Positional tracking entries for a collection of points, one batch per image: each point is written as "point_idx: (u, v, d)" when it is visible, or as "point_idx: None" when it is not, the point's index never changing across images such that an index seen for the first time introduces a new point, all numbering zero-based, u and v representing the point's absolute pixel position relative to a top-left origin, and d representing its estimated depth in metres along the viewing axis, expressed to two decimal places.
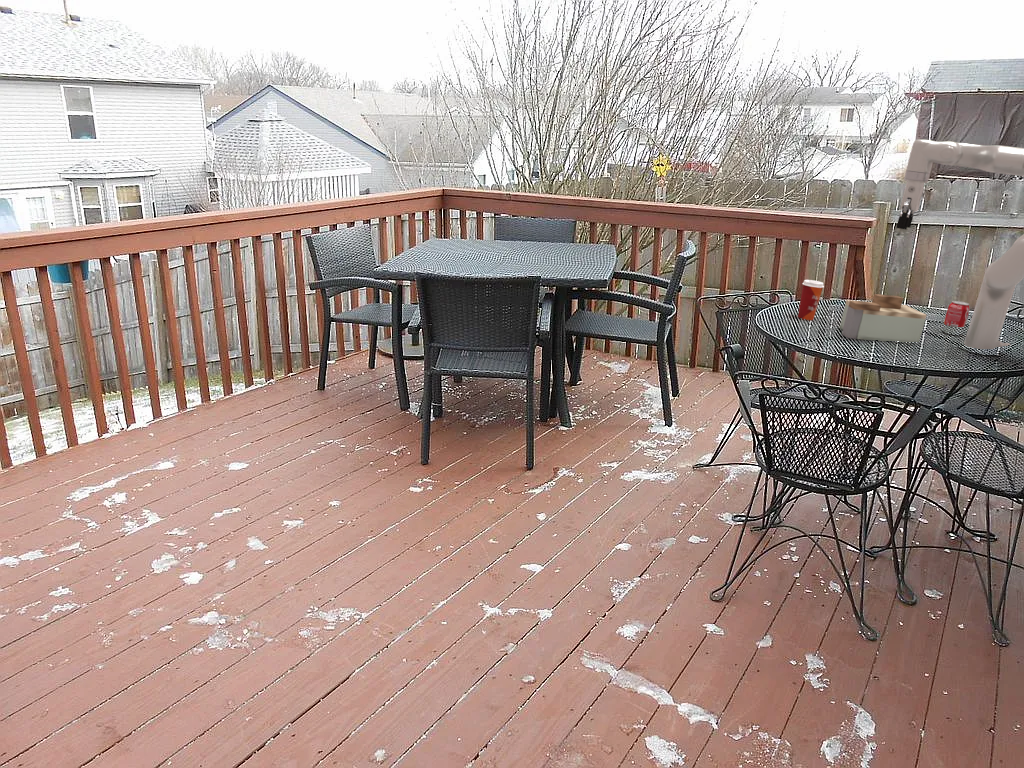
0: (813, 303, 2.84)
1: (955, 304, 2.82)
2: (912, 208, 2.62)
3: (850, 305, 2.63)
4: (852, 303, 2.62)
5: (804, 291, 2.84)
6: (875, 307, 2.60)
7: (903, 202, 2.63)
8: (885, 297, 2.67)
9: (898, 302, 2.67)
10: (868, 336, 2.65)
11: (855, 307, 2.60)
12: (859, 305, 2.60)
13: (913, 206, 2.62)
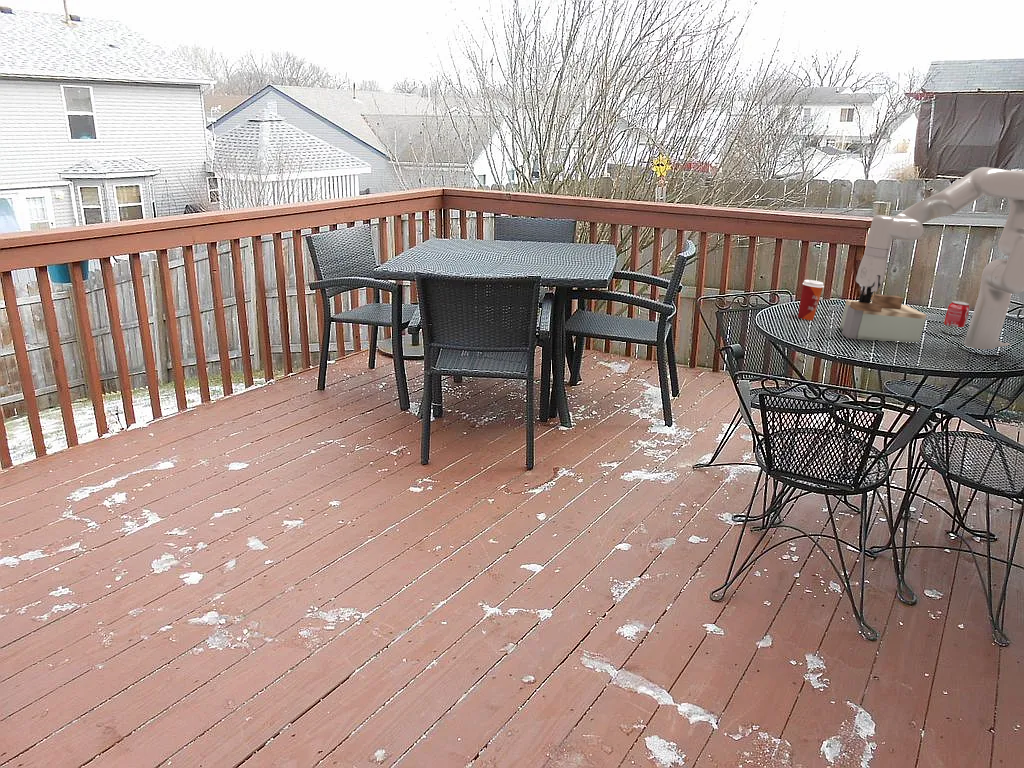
0: (813, 303, 2.84)
1: (955, 304, 2.82)
2: None
3: (851, 306, 2.62)
4: (853, 304, 2.61)
5: (804, 291, 2.84)
6: (876, 308, 2.59)
7: None
8: (885, 297, 2.67)
9: (898, 302, 2.67)
10: (868, 336, 2.65)
11: (856, 308, 2.59)
12: (860, 306, 2.59)
13: None
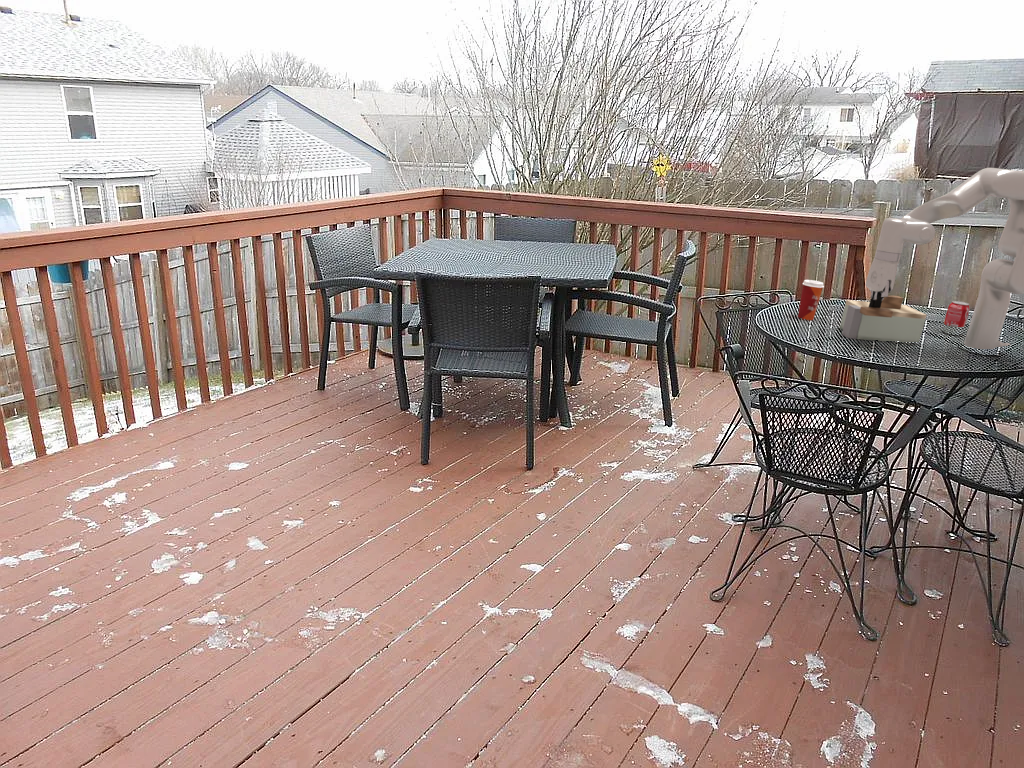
0: (813, 303, 2.84)
1: (955, 304, 2.82)
2: None
3: (861, 311, 2.55)
4: (863, 309, 2.54)
5: (804, 291, 2.84)
6: (887, 313, 2.53)
7: None
8: (885, 297, 2.67)
9: (898, 302, 2.67)
10: (868, 336, 2.65)
11: (866, 313, 2.52)
12: (870, 311, 2.52)
13: None
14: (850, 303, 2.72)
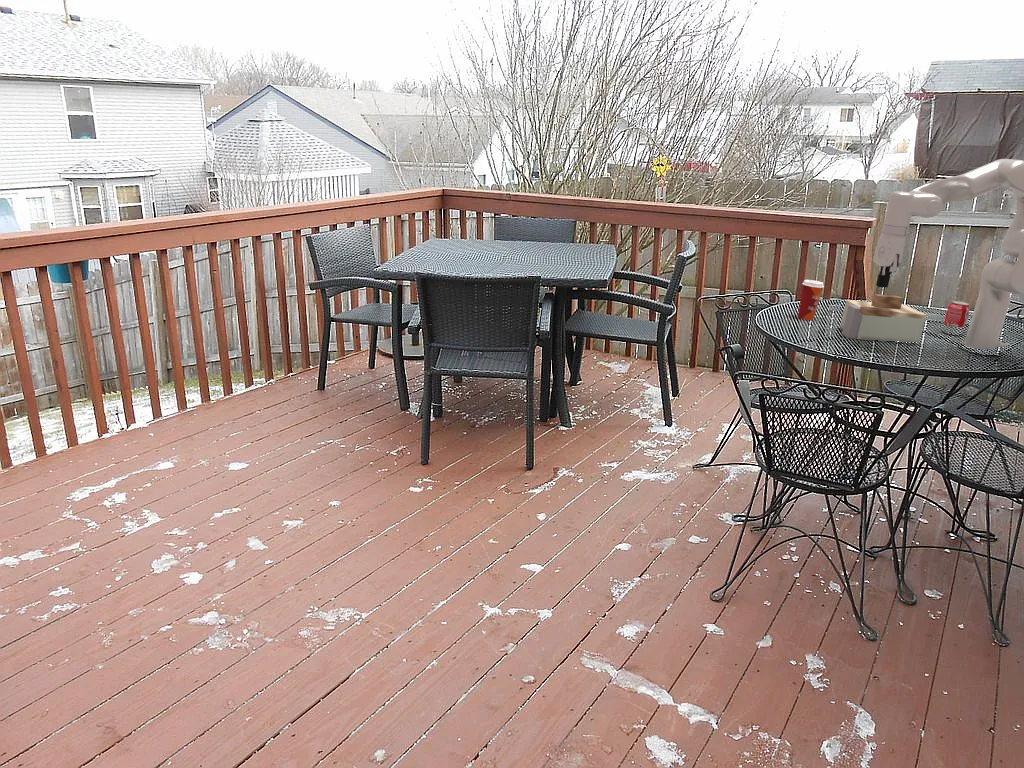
0: (813, 303, 2.84)
1: (955, 304, 2.82)
2: None
3: (861, 311, 2.55)
4: (863, 309, 2.54)
5: (804, 291, 2.84)
6: (886, 313, 2.53)
7: None
8: (885, 297, 2.67)
9: (898, 302, 2.67)
10: (868, 336, 2.65)
11: (866, 313, 2.53)
12: (870, 311, 2.52)
13: None
14: (850, 303, 2.72)
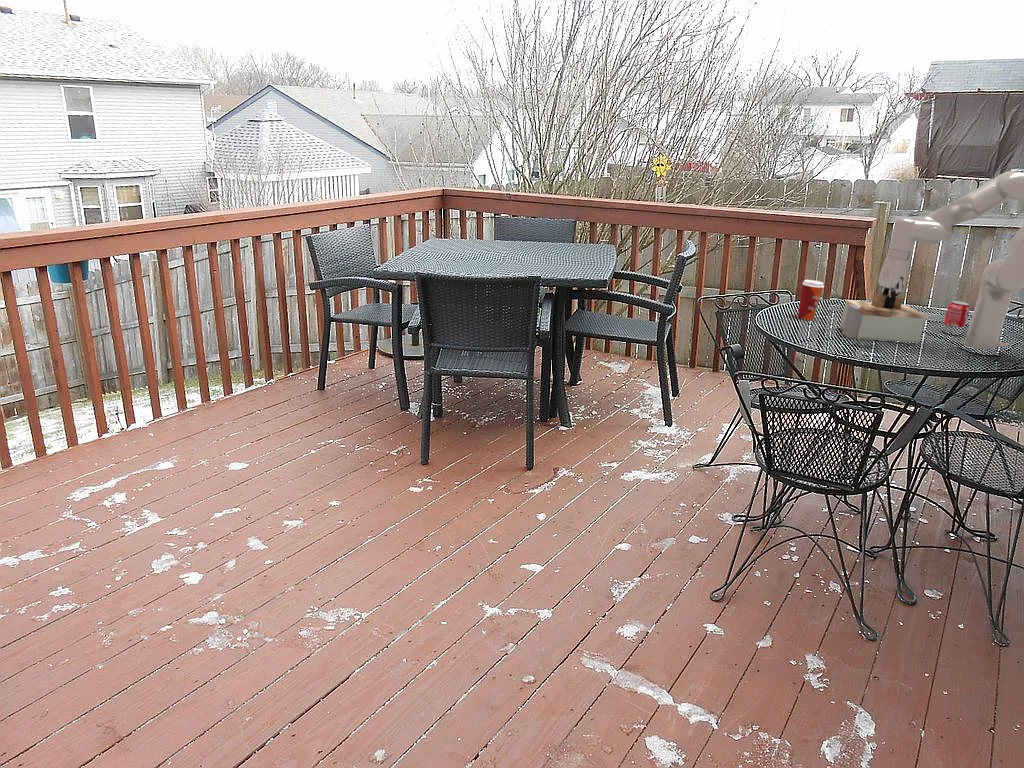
0: (813, 303, 2.84)
1: (955, 304, 2.82)
2: None
3: (861, 311, 2.55)
4: (863, 309, 2.54)
5: (804, 291, 2.84)
6: (886, 313, 2.53)
7: None
8: (885, 297, 2.67)
9: (898, 302, 2.67)
10: (868, 336, 2.65)
11: (866, 313, 2.53)
12: (870, 311, 2.52)
13: None
14: (850, 303, 2.72)
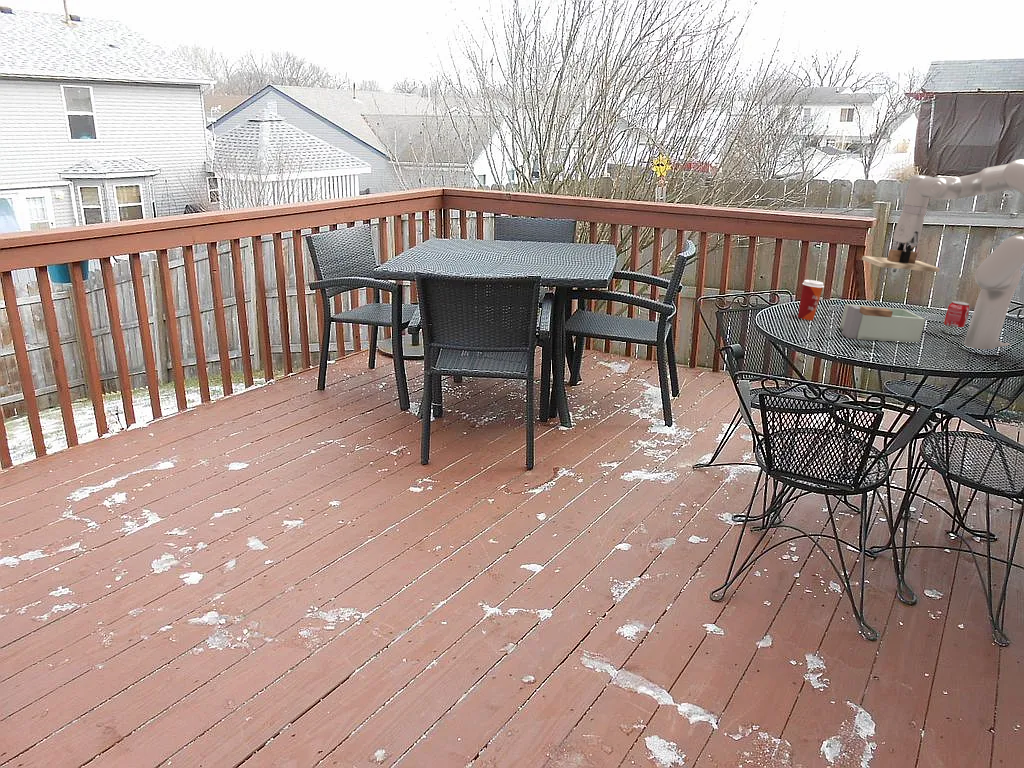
0: (813, 303, 2.84)
1: (955, 304, 2.82)
2: None
3: (861, 311, 2.55)
4: (863, 309, 2.54)
5: (804, 291, 2.84)
6: (886, 313, 2.53)
7: None
8: (900, 252, 2.79)
9: (913, 256, 2.80)
10: (868, 336, 2.65)
11: (866, 313, 2.53)
12: (870, 311, 2.52)
13: None
14: (866, 258, 2.85)
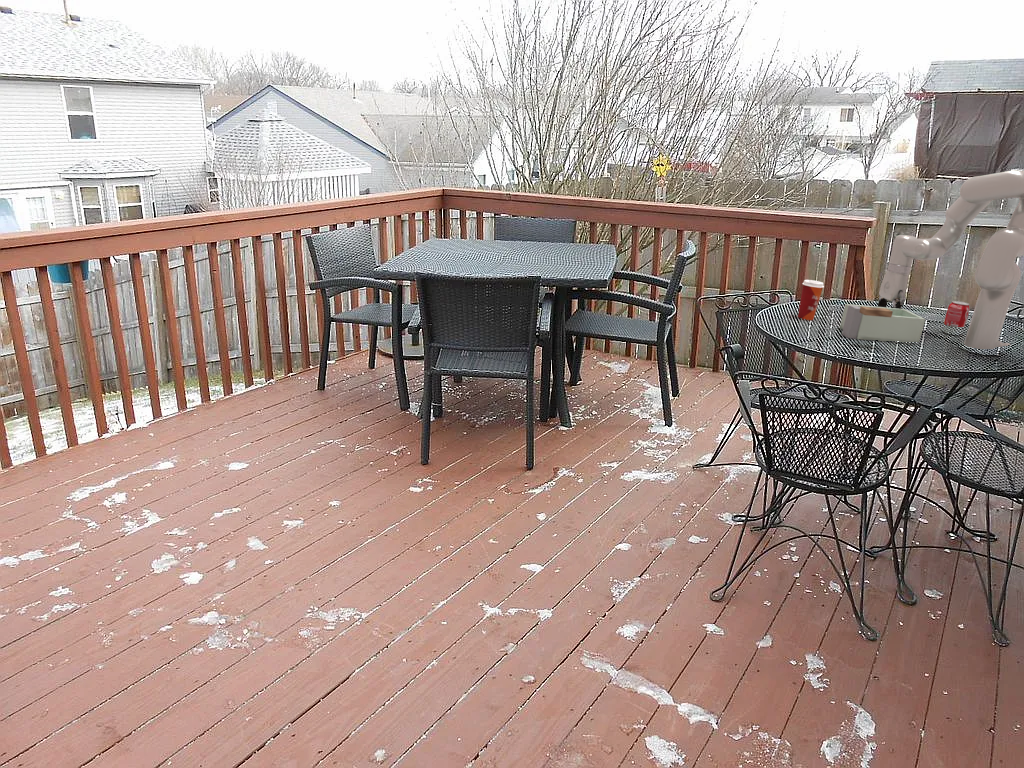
0: (813, 303, 2.84)
1: (955, 304, 2.82)
2: None
3: (861, 311, 2.55)
4: (863, 309, 2.54)
5: (804, 291, 2.84)
6: (886, 313, 2.53)
7: None
8: None
9: None
10: (868, 336, 2.65)
11: (866, 313, 2.53)
12: (870, 311, 2.52)
13: None
14: None
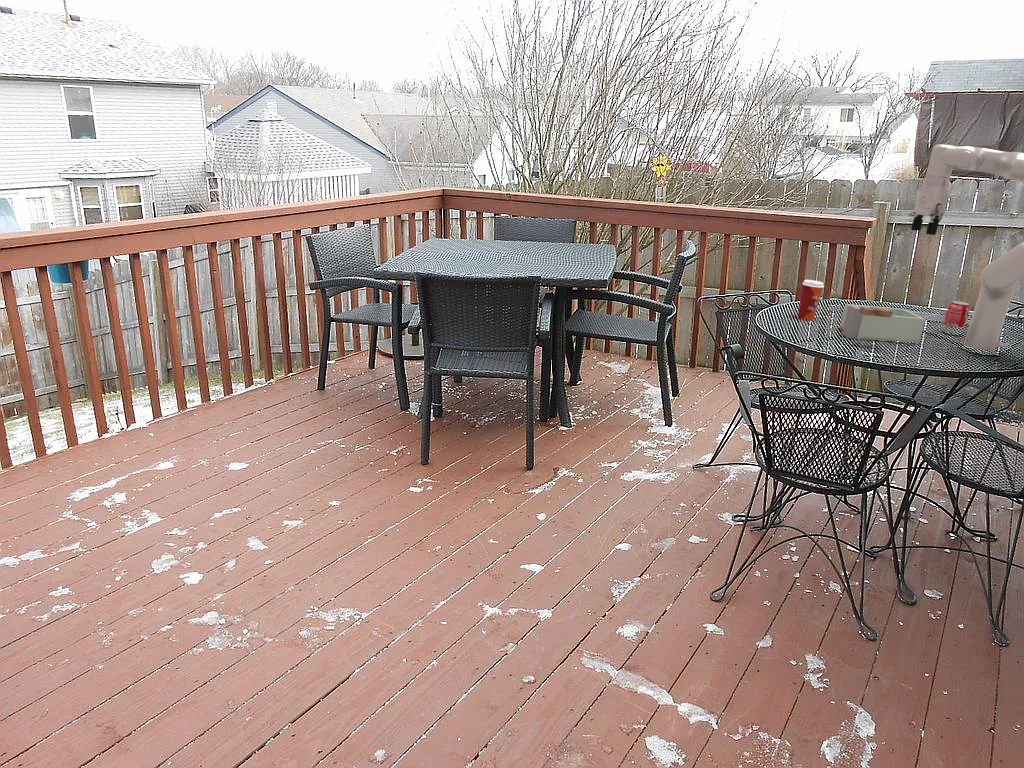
0: (813, 303, 2.84)
1: (955, 304, 2.82)
2: None
3: (861, 311, 2.55)
4: (863, 309, 2.54)
5: (804, 291, 2.84)
6: (886, 313, 2.53)
7: None
8: None
9: None
10: (868, 336, 2.65)
11: (866, 313, 2.53)
12: (870, 311, 2.52)
13: None
14: None
